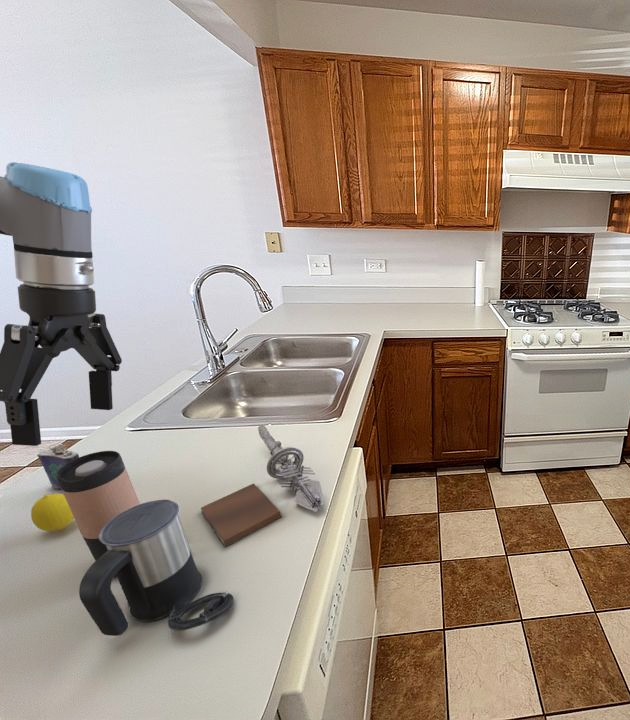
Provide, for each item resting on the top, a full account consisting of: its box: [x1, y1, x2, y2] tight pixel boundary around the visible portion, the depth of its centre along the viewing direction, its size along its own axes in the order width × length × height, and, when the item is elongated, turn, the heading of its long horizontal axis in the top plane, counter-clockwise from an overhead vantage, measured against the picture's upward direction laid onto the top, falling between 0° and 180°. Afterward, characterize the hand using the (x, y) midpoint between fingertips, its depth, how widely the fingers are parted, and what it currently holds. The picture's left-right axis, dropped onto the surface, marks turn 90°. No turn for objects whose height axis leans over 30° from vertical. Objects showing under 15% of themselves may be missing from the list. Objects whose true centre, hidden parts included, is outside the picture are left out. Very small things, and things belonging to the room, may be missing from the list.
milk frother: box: [78, 499, 235, 637], centre depth 59 cm, size 14×16×15 cm
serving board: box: [200, 482, 282, 548], centre depth 79 cm, size 13×10×2 cm
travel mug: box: [56, 450, 141, 579], centre depth 65 cm, size 8×8×20 cm
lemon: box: [30, 493, 75, 532], centre depth 74 cm, size 6×6×8 cm
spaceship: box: [257, 424, 324, 512], centre depth 89 cm, size 8×35×8 cm
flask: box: [36, 443, 80, 491], centre depth 85 cm, size 9×3×11 cm, turn 79°
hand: (68, 424), depth 60 cm, fingers open, 13 cm apart
